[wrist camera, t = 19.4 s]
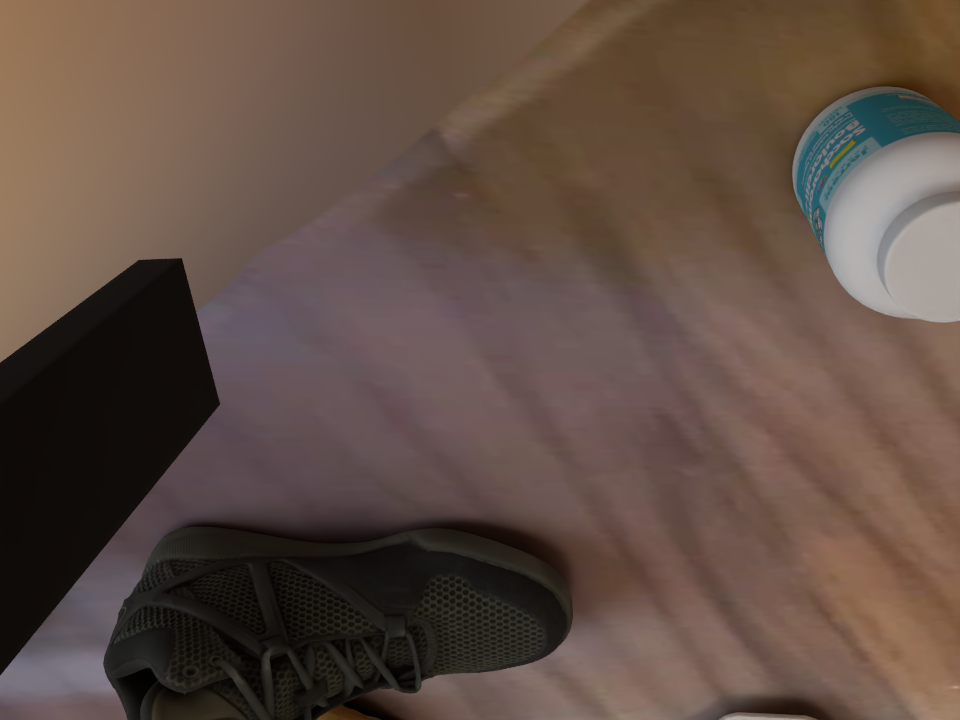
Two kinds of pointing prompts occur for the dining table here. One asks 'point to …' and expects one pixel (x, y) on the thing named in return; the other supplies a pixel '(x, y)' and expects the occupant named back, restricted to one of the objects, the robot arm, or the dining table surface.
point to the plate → (764, 716)
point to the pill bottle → (886, 200)
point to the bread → (345, 714)
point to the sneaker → (323, 620)
